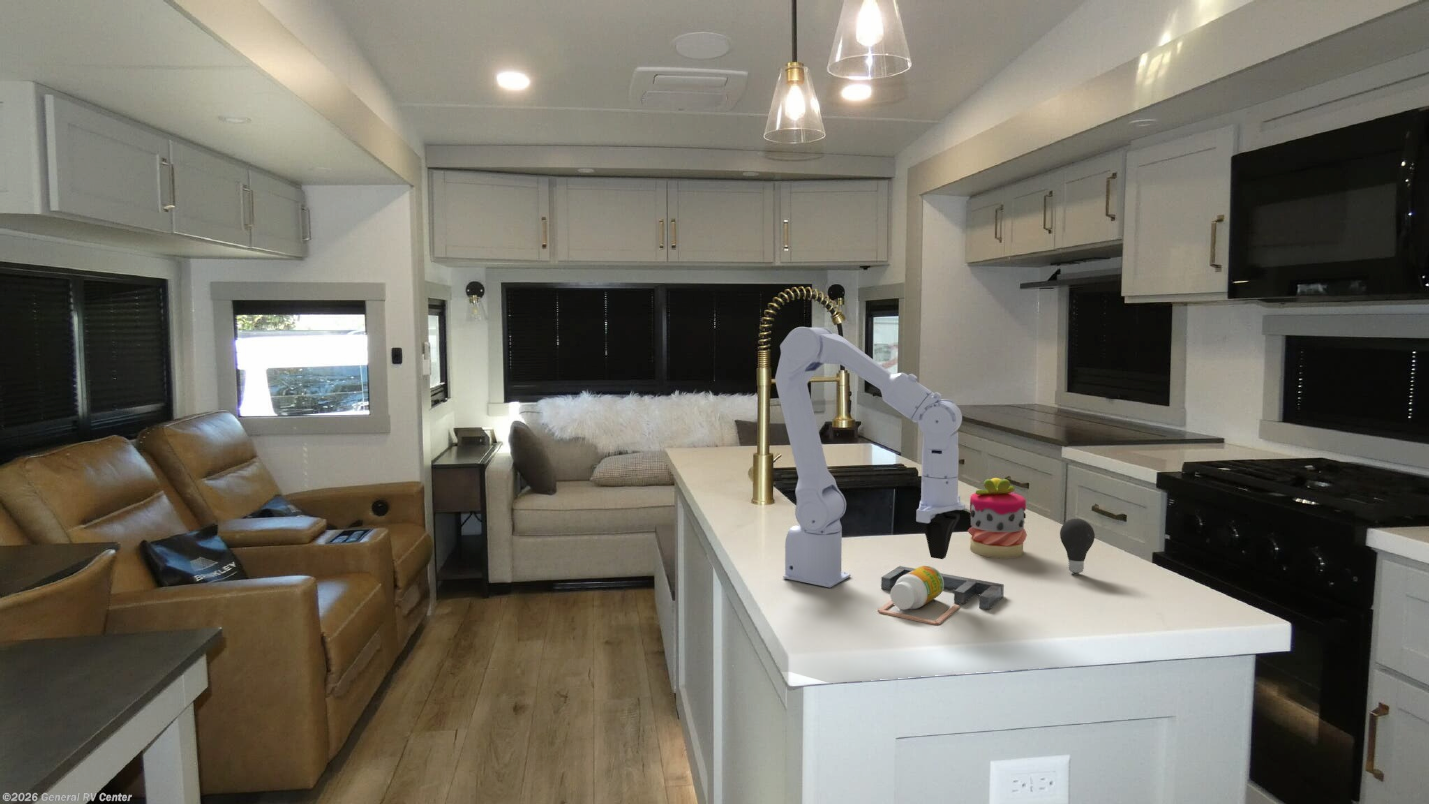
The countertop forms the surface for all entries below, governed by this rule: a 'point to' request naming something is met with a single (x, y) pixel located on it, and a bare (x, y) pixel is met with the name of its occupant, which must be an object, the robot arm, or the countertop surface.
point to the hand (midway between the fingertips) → (938, 557)
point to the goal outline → (937, 621)
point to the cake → (997, 520)
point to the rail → (956, 587)
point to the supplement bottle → (917, 588)
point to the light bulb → (1076, 542)
